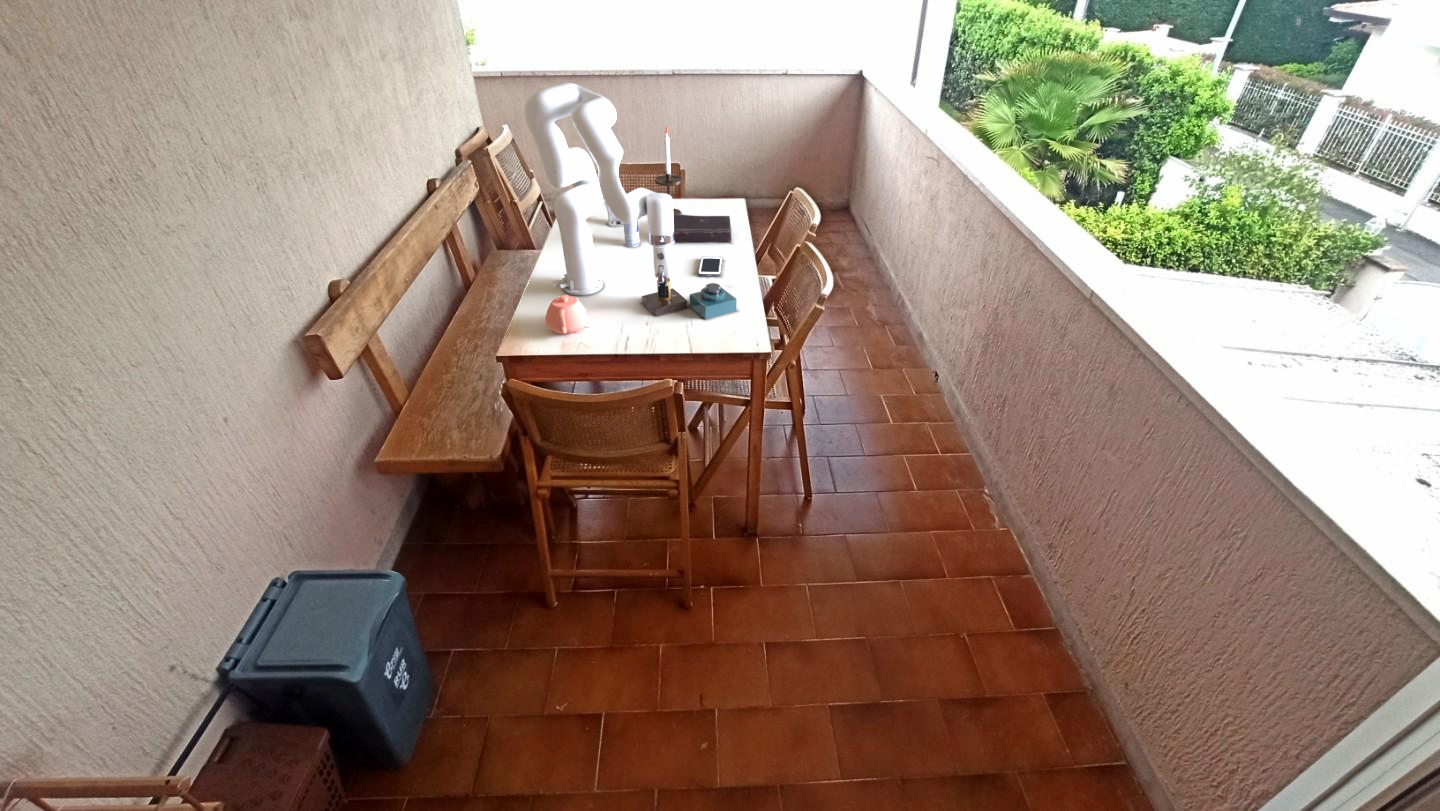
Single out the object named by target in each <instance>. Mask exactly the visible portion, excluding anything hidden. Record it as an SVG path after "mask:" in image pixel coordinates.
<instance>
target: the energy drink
mask: <svg viewBox="0 0 1440 811" xmlns="http://www.w3.org/2000/svg"><path fill="white" fill-rule="evenodd" d="M623 234H624V235H623V236H624V242H625V243H624V244H625V246H626V247H627V248H636V247H639V245H640V242H641V241H640V230H639V219H637V220H636V221H634V222H632V223H629V224H626V223H623Z"/></svg>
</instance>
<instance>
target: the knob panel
mask: <svg viewBox="0 0 1440 811" xmlns="http://www.w3.org/2000/svg"><path fill="white" fill-rule="evenodd" d="M670 289H671V299H670V300H667V301H661V300H659V299H658V291H656V292H651V293H649V294H645V295H644V294H643V295H642V296H641V303H642V304H643V305H644V306H645V307H646V308H647V309H648V310H649V311H650V312H651V313H652V314H653V315H654V316H655V317H658V316H662V315H665V314H666V315H667V314H668V313H673V312H677V311H680V310H684V309H688V308H689V305H688V303H689V302H688V299H686V298H685V296H683V295H682V294H680V293H679V292H678V291H677V290H676V289H674V288H670Z"/></svg>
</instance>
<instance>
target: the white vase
mask: <svg viewBox="0 0 1440 811" xmlns="http://www.w3.org/2000/svg"><path fill="white" fill-rule="evenodd" d="M604 204H605V208H606V212H607V225H608V226H610V227H615V228H616V227H620V226H624V224H623V223H622V222H620V221H619V220H618V219H617V218H616V217H615V216H614V215H613V213H612V212H611V210H610V209H609V207H608V205H607V204H606V202H605V201H604Z"/></svg>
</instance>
